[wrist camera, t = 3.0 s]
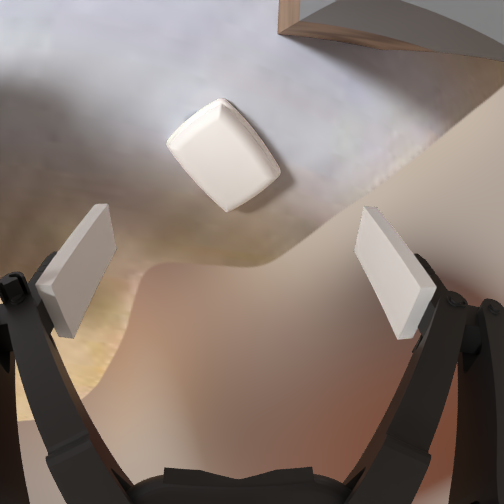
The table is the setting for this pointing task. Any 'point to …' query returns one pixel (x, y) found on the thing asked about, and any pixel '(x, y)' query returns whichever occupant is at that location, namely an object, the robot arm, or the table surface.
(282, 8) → the walnut base cube
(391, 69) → the table surface
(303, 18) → the grey cube
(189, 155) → the soap
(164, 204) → the table surface
